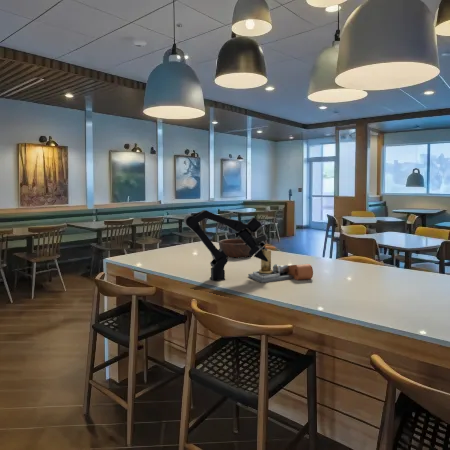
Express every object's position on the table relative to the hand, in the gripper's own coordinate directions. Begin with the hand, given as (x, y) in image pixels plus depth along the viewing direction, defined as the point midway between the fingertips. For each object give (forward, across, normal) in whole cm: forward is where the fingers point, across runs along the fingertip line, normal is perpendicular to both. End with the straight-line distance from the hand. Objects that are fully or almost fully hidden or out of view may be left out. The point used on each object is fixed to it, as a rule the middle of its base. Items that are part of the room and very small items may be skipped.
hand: (268, 260), depth 203 cm
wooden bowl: (-16, +60, +31) cm, 69 cm away
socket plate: (+8, +2, +6) cm, 10 cm away
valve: (+4, 0, +6) cm, 7 cm away
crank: (+17, +9, -3) cm, 20 cm away
